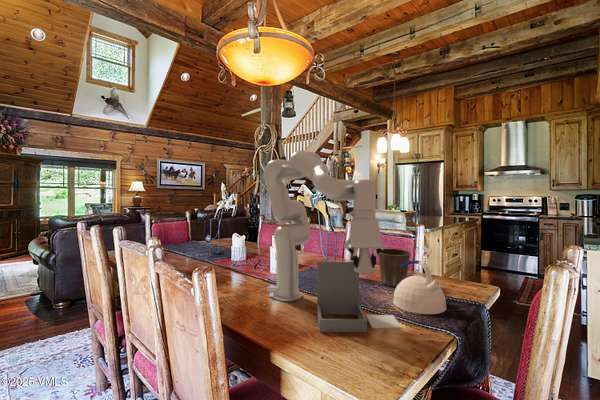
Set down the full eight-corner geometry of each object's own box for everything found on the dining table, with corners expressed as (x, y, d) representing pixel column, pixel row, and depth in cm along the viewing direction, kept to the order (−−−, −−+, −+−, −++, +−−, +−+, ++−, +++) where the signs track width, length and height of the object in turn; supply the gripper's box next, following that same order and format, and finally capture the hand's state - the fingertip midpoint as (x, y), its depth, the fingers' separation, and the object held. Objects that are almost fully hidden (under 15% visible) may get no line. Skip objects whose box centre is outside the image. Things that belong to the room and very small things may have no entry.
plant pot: (415, 288, 147) (415, 254, 146) (381, 288, 147) (381, 254, 147) (404, 279, 163) (404, 248, 163) (373, 278, 163) (373, 248, 163)
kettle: (418, 318, 113) (418, 269, 112) (382, 300, 132) (383, 257, 131) (459, 310, 120) (459, 264, 120) (420, 294, 140) (420, 254, 139)
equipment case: (319, 331, 102) (319, 272, 101) (317, 312, 118) (317, 261, 118) (367, 332, 102) (367, 272, 101) (358, 312, 118) (358, 261, 117)
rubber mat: (371, 328, 104) (371, 326, 104) (365, 316, 114) (365, 315, 114) (401, 328, 104) (401, 327, 104) (393, 316, 114) (393, 315, 114)
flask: (362, 275, 104) (362, 246, 104) (349, 271, 110) (349, 243, 110) (379, 273, 107) (379, 244, 107) (366, 268, 114) (366, 241, 113)
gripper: (340, 216, 105) (341, 269, 105) (391, 215, 104) (392, 269, 105) (338, 214, 112) (339, 264, 113) (386, 214, 112) (386, 264, 112)
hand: (364, 266), depth 109 cm, fingers closed on flask, 5 cm apart
